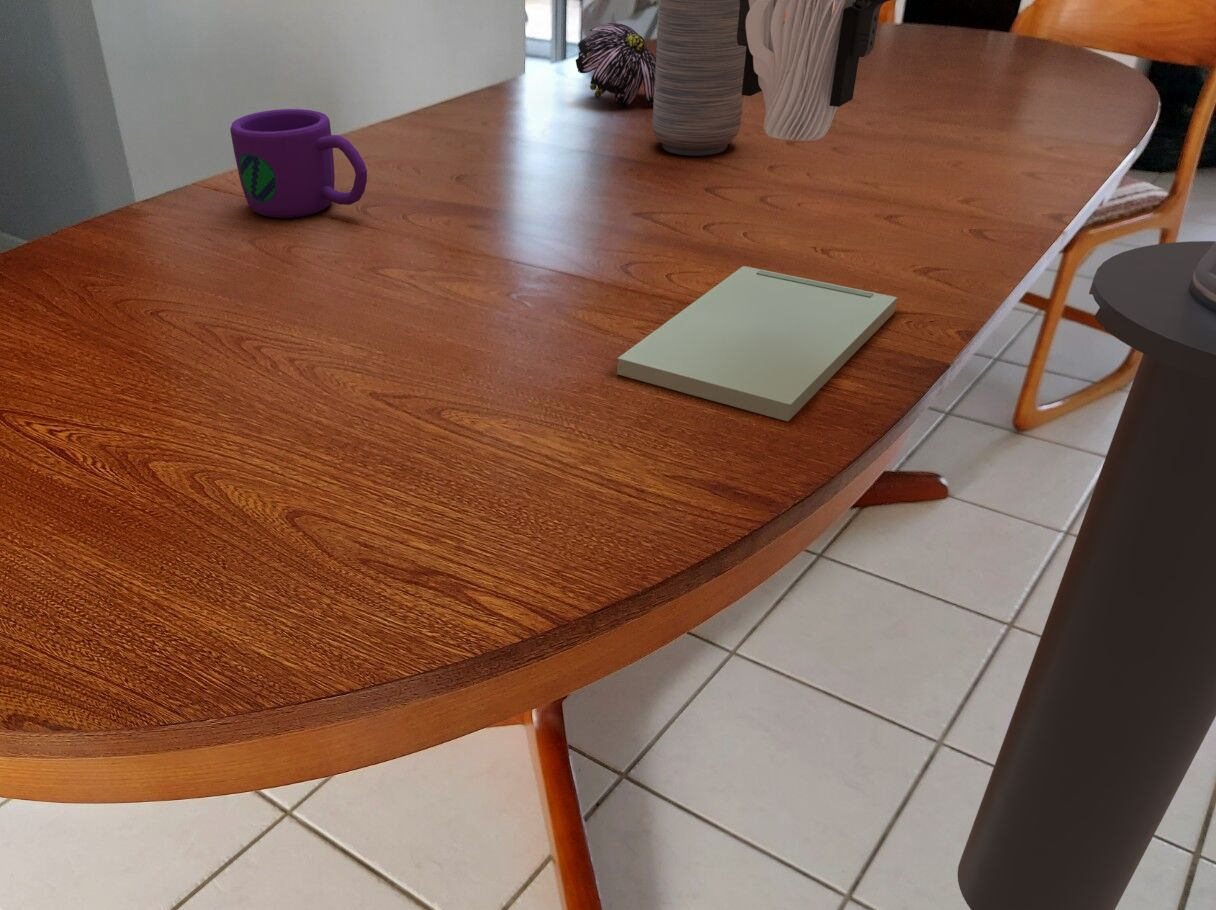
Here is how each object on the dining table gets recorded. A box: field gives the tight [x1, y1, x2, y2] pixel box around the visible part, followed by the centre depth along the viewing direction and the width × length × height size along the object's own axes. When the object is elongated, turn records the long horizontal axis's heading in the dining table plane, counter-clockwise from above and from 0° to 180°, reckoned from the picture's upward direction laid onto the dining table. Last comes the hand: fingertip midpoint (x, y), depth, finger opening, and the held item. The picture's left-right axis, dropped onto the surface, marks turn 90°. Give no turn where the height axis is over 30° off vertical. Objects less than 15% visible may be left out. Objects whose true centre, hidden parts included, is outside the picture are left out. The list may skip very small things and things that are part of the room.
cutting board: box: [616, 265, 898, 423], centre depth 90 cm, size 24×15×2 cm, turn 144°
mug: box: [229, 108, 368, 219], centre depth 120 cm, size 17×11×10 cm, turn 60°
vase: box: [651, 0, 746, 157], centre depth 133 cm, size 12×12×23 cm
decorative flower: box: [575, 22, 656, 110], centre depth 160 cm, size 14×12×15 cm
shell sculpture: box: [746, 0, 856, 142], centre depth 76 cm, size 8×8×18 cm
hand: (796, 96), depth 80 cm, fingers closed on shell sculpture, 6 cm apart
